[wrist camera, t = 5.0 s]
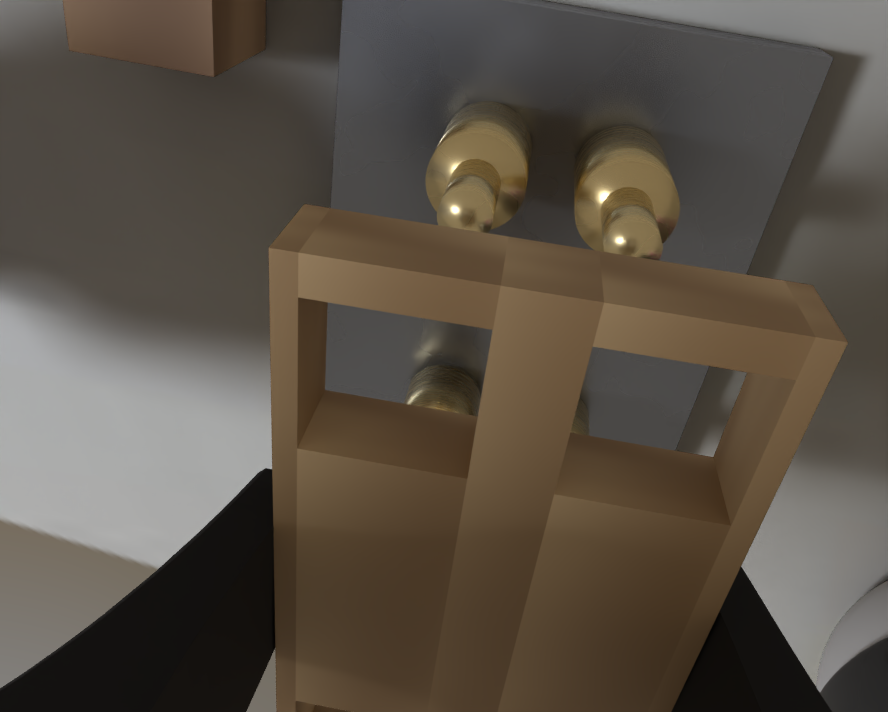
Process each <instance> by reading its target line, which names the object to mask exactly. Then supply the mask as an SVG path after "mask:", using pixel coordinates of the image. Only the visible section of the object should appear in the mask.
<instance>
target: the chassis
mask: <svg viewBox="0 0 888 712" xmlns="http://www.w3.org/2000/svg"><path fill="white" fill-rule="evenodd" d="M832 60H833V57H832V56H830V55H829V54H827V53H826V52H824V51H823V50H821V49H819V48H814V47H808V46H802V45H796V44H791V43H785V42H779V41H773V40H768V39H762V38H756V37H750V36H745V35H739V34H733V33H727V32H721V31H716V30H710V29H704V28H698V27H693V26H687V25H681V24H675V23H670V22H664V21H658V20H652V19H646V18H641V17H635V16H629V15H623V14H618V13H612V12H606V11H600V10H595V9H589V8H583V7H577V6H571V5H566V4H560V3H554V2H548V1H543V0H343V2H342V19H341V36H340V53H339V70H338V87H337V104H336V121H335V138H334V155H333V172H332V189H331V206H330V208H333V209H339V210H345V211H352V212H358V213H364V214H370V215H377V216H383V217H389V218H395V219H402V220H408V221H414V222H420V223H427V224H433V225H439V226H445V227H452V228H458V229H464V230H470V231H477V232H483V233H489V234H495V235H502V236H508V237H514V238H521V239H527V240H533V241H539V242H546V243H552V244H558V245H564V246H571V247H577V248H583V249H589V250H596V251H602V252H608V253H614V254H621V255H627V256H633V257H639V258H646V259H652V260H658V261H664V262H671V263H677V264H683V265H689V266H696V267H702V268H708V269H714V270H721V271H727V272H733V273H739V274H747V271H748V269H749V266H750V264H751V261H752V259H753V256H754V254H755V251H756V249H757V246H758V244H759V241H760V239H761V237H762V234H763V232H764V229H765V227H766V224H767V222H768V219H769V217H770V214H771V212H772V209H773V207H774V204H775V202H776V199H777V197H778V194H779V192H780V189H781V187H782V184H783V182H784V179H785V177H786V174H787V172H788V169H789V167H790V164H791V162H792V159H793V157H794V155H795V152H796V150H797V147H798V145H799V142H800V140H801V137H802V135H803V132H804V130H805V127H806V125H807V122H808V120H809V117H810V115H811V112H812V110H813V107H814V105H815V102H816V100H817V97H818V95H819V92H820V90H821V87H822V85H823V82H824V80H825V78H826V75H827V73H828V70H829V68H830V65H831V63H832ZM491 336H492V330H491V329H485V328H479V327H473V326H467V325H461V324H455V323H449V322H443V321H437V320H431V319H425V318H419V317H413V316H407V315H401V314H395V313H389V312H383V311H377V310H371V309H365V308H359V307H353V306H347V305H341V304H335V303H329V302H328V309H327V341H326V373H325V390H328V391H334V392H340V393H346V394H351V395H357V396H363V397H369V398H374V399H380V400H386V401H392V402H397V403H403V404H409V405H415V406H420V407H426V408H432V409H438V410H444V411H449V412H455V413H461V414H467V415H472V416H478V412H479V406H480V400H481V394H482V388H483V383H484V377H485V371H486V365H487V359H488V353H489V348H490V342H491ZM708 368H709V366H706V365H700V364H694V363H688V362H682V361H676V360H670V359H664V358H658V357H652V356H646V355H640V354H634V353H628V352H622V351H616V350H610V349H604V348H598V347H592V351H591V355H590V359H589V363H588V366H587V370H586V374H585V378H584V382H583V386H582V389H581V393H580V397H579V401H578V405H577V409H576V412H575V416H574V420H573V424H572V428H571V432H570V433H576V434H582V435H588V436H593V437H599V438H605V439H611V440H616V441H622V442H628V443H634V444H639V445H645V446H651V447H657V448H663V449H668V450H674V451H675V450H676V448H677V445H678V443H679V440H680V438H681V435H682V433H683V430H684V428H685V425H686V423H687V420H688V418H689V415H690V413H691V410H692V408H693V405H694V403H695V400H696V398H697V395H698V393H699V391H700V388H701V386H702V383H703V381H704V378H705V376H706V373H707V371H708Z"/></svg>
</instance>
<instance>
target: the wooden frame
mask: <svg viewBox="0 0 888 712" xmlns="http://www.w3.org/2000/svg"><path fill="white" fill-rule="evenodd" d="M328 302H329V303H335V304H341V305H347V306H353V307H359V308H365V309H371V310H377V311H383V312H389V313H395V314H401V315H407V316H413V317H419V318H425V319H431V320H437V321H443V322H449V323H455V324H461V325H467V326H473V327H479V328H485V329H491V330H492V336H491V342H490V348H489V353H488V359H487V365H486V371H485V377H484V383H483V388H482V394H481V400H480V406H479V412H478V416H472V415H467V414H461V413H455V412H449V411H444V410H438V409H432V408H426V407H420V406H415V405H409V404H403V403H397V402H392V401H386V400H380V399H374V398H369V397H363V396H357V395H351V394H346V393H340V392H334V391H328V390H325V373H326V341H327V309H328ZM269 303H270V361H271V418H272V476H273V526H274V592H275V648H276V649H275V650H276V702H277V703H276V704H277V705H276V708H277V712H671V711H672V709H673V707H674V705H675V703H676V701H677V699H678V697H679V695H680V693H681V690H682V688H683V686H684V684H685V682H686V680H687V678H688V676H689V674H690V672H691V670H692V667H693V665H694V663H695V661H696V659H697V657H698V655H699V653H700V651H701V649H702V647H703V645H704V642H705V640H706V638H707V636H708V634H709V632H710V630H711V628H712V626H713V624H714V622H715V619H716V617H717V615H718V613H719V611H720V609H721V607H722V605H723V603H724V601H725V599H726V596H727V594H728V592H729V590H730V588H731V586H732V584H733V582H734V580H735V578H736V576H737V574H738V571H739V569H740V567H741V565H742V563H743V561H744V559H745V557H746V555H747V553H748V551H749V548H750V546H751V544H752V542H753V540H754V538H755V536H756V534H757V532H758V530H759V528H760V526H761V523H762V521H763V519H764V517H765V515H766V513H767V511H768V509H769V507H770V505H771V503H772V500H773V498H774V496H775V494H776V492H777V490H778V488H779V486H780V484H781V482H782V480H783V477H784V475H785V473H786V471H787V469H788V467H789V465H790V463H791V461H792V459H793V457H794V455H795V452H796V450H797V448H798V446H799V444H800V442H801V440H802V438H803V436H804V434H805V432H806V429H807V427H808V425H809V423H810V421H811V419H812V417H813V415H814V413H815V411H816V409H817V406H818V404H819V402H820V400H821V398H822V396H823V394H824V392H825V390H826V388H827V386H828V384H829V381H830V379H831V377H832V375H833V373H834V371H835V369H836V367H837V365H838V363H839V361H840V358H841V356H842V354H843V352H844V350H845V348H846V346H847V344H848V341H847V340H846V338H845V337H844V335H843V333H842V332H841V330H840V329H839V327H838V325H837V324H836V322H835V320H834V319H833V317H832V316H831V314H830V312H829V311H828V309H827V308H826V306H825V304H824V303H823V301H822V299H821V298H820V296H819V295H818V293H817V291H816V290H815V288H814V286H813V285H808V284H802V283H796V282H789V281H783V280H777V279H771V278H764V277H758V276H752V275H746V274H739V273H733V272H727V271H721V270H714V269H708V268H702V267H696V266H689V265H683V264H677V263H671V262H664V261H658V260H652V259H646V258H639V257H633V256H627V255H621V254H614V253H608V252H602V251H596V250H589V249H583V248H577V247H571V246H564V245H558V244H552V243H546V242H539V241H533V240H527V239H521V238H514V237H508V236H502V235H495V234H489V233H483V232H477V231H470V230H464V229H458V228H452V227H445V226H439V225H433V224H427V223H420V222H414V221H408V220H402V219H395V218H389V217H383V216H377V215H370V214H364V213H358V212H352V211H345V210H339V209H333V208H327V207H320V206H314V205H308V204H304V205H303V206H302V207H301V209H300V210H299V211H298V212H297V214H296V215H295V216H294V217H293V218H292V220H291V221H290V222H289V223H288V225H287V226H286V227H285V228H284V229H283V231H282V232H281V233H280V234H279V236H278V237H277V238H276V239H275V240H274V242H273V243H272V244H271V245H270V247H269ZM592 347H598V348H604V349H610V350H616V351H622V352H628V353H634V354H640V355H646V356H652V357H658V358H664V359H670V360H676V361H682V362H688V363H694V364H700V365H706V366H712V367H718V368H724V369H730V370H736V371H742V372H748V373H747V375H746V378H745V380H744V382H743V385H742V387H741V390H740V392H739V395H738V397H737V400H736V402H735V405H734V407H733V410H732V412H731V415H730V417H729V420H728V422H727V425H726V427H725V430H724V432H723V435H722V437H721V440H720V442H719V445H718V447H717V450H716V452H715V454H714V457H709V456H703V455H697V454H691V453H686V452H680V451H674V450H668V449H663V448H657V447H651V446H645V445H639V444H634V443H628V442H622V441H616V440H611V439H605V438H599V437H593V436H588V435H582V434H576V433H570V432H571V428H572V424H573V420H574V416H575V412H576V409H577V405H578V401H579V397H580V393H581V389H582V386H583V382H584V378H585V374H586V370H587V366H588V363H589V359H590V355H591V351H592ZM315 704H316V705H315ZM320 705H321V706H320ZM325 706H326V707H325ZM330 707H331V708H330Z"/></svg>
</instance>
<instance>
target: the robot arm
mask: <svg viewBox="0 0 888 712" xmlns="http://www.w3.org/2000/svg"><path fill="white" fill-rule="evenodd" d="M274 649H275V592H274V526H273V476H272V469H267V468H266V469H264V470H262V471H260V472H259V473H258V474H257V475H256V476H255V477H254V478H253V479H252V480H251V481H250V482H249V483H248V484H247V485H246V486H245V487H244V488H243V489H242V490H241V491H240V492H239V493H238V495H237V496H236V497H235V498H234V499H233V500H232V501H231V502H230V503H229V504H228V505H227V506H226V507H225V508H224V509H223V510H222V511H221V512H220V513H219V514H217V515H216V516H215V517H214V518H213V519H212V520H211V521H210V522H209V523H208V524H207V525H206V526H205V527H204V528H203V529H202V530H201V531H200V532H199V533H198V534H197V535H195V536H194V537H193V538H192V539H191V540H190V541H189V542H188V543H187V544H186V545H184V546H183V547H182V548H181V549H180V550H179V551H178V552H177V553H176V554H175V555H173V556H172V557H171V558H170V559H169V560H168V561H167V562H166V563H165V564H164V565H162V566H161V567H160V568H159V569H158V570H157V571H156V572H155V573H153V574H152V575H151V576H150V577H149V578H147V579H146V580H145V581H144V582H143V583H141V584H140V585H139V586H138V587H136V588H135V589H134V590H133V591H132V592H130V593H129V594H128V595H127V596H125V597H124V598H123V599H122V600H121V601H119V602H118V603H117V604H116V605H115V606H113V607H112V608H111V609H110V610H108V611H107V612H106V613H105V614H104V615H102V616H101V617H100V618H98V619H97V620H96V621H95V622H93V623H92V624H91V625H90V626H88V627H87V628H85V629H84V630H83V631H81V632H80V633H79V634H78V635H76V636H75V637H73V638H72V639H71V640H69V641H68V642H67V643H65V644H64V645H63V646H61V647H60V648H58V649H57V650H56V651H54V652H53V653H51V654H50V655H49V656H47V657H46V658H44V659H43V660H42V661H40V662H39V663H38V664H36V665H35V666H33V667H32V668H30V669H29V670H27V671H26V672H24V673H23V674H22V675H20V676H19V677H17V678H15V679H14V680H12V681H11V682H9V683H8V684H6V685H5V686H3V687H2V688H0V712H246V711H247V709H248V706H249V704H250V702H251V700H252V698H253V696H254V693H255V691H256V689H257V687H258V684H259V682H260V680H261V678H262V675H263V673H264V671H265V669H266V667H267V664H268V662H269V660H270V658H271V656H272V653H273V651H274ZM671 712H832V710H831V709H830V707H829V706H828V704H827V703H826V701H825V700H824V698H823V697H822V695H821V694H820V692H819V691H818V689H817V688H816V686H815V685H814V683H813V682H812V680H811V679H810V677H809V675H808V674H807V672H806V671H805V669H804V668H803V666H802V664H801V663H800V661H799V660H798V658H797V656H796V655H795V653H794V652H793V650H792V648H791V647H790V645H789V644H788V642H787V640H786V639H785V637H784V636H783V634H782V632H781V631H780V629H779V627H778V626H777V624H776V622H775V621H774V619H773V618H772V616H771V614H770V613H769V611H768V609H767V608H766V606H765V604H764V603H763V601H762V599H761V598H760V596H759V595H758V593H757V591H756V590H755V588H754V586H753V585H752V583H751V581H750V580H749V578H748V577H747V575H746V573H745V572H744V570H743V569H742V567H740V569H739V571H738V574H737V576H736V578H735V580H734V582H733V584H732V586H731V588H730V590H729V592H728V594H727V596H726V599H725V601H724V603H723V605H722V607H721V609H720V611H719V613H718V615H717V617H716V619H715V622H714V624H713V626H712V628H711V630H710V632H709V634H708V636H707V638H706V640H705V642H704V645H703V647H702V649H701V651H700V653H699V655H698V657H697V659H696V661H695V663H694V665H693V667H692V670H691V672H690V674H689V676H688V678H687V680H686V682H685V684H684V686H683V688H682V690H681V693H680V695H679V697H678V699H677V701H676V703H675V705H674V707H673V709H672V711H671Z"/></svg>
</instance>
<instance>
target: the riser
mask: <svg viewBox="0 0 888 712" xmlns="http://www.w3.org/2000/svg"><path fill="white" fill-rule="evenodd" d="M63 7H64V15H65V23H66V31H67V39H68V46H69V51H73V52H79V53H84V54H90V55H95V56H101V57H106V58H112V59H117V60H123V61H129V62H134V63H140V64H145V65H151V66H156V67H162V68H167V69H173V70H178V71H184V72H189V73H195V74H200V75H206V76H211V77H215V76H217V75H219V74H220V73H222V72H224V71H226V70H228V69H230V68H232V67H233V66H235V65H237V64H239V63H241V62H243V61H245V60H246V59H248V58H250V57H252V56H254V55H256V54H258V53H259V52H261V51H263V50H265V46H266V0H63Z"/></svg>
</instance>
